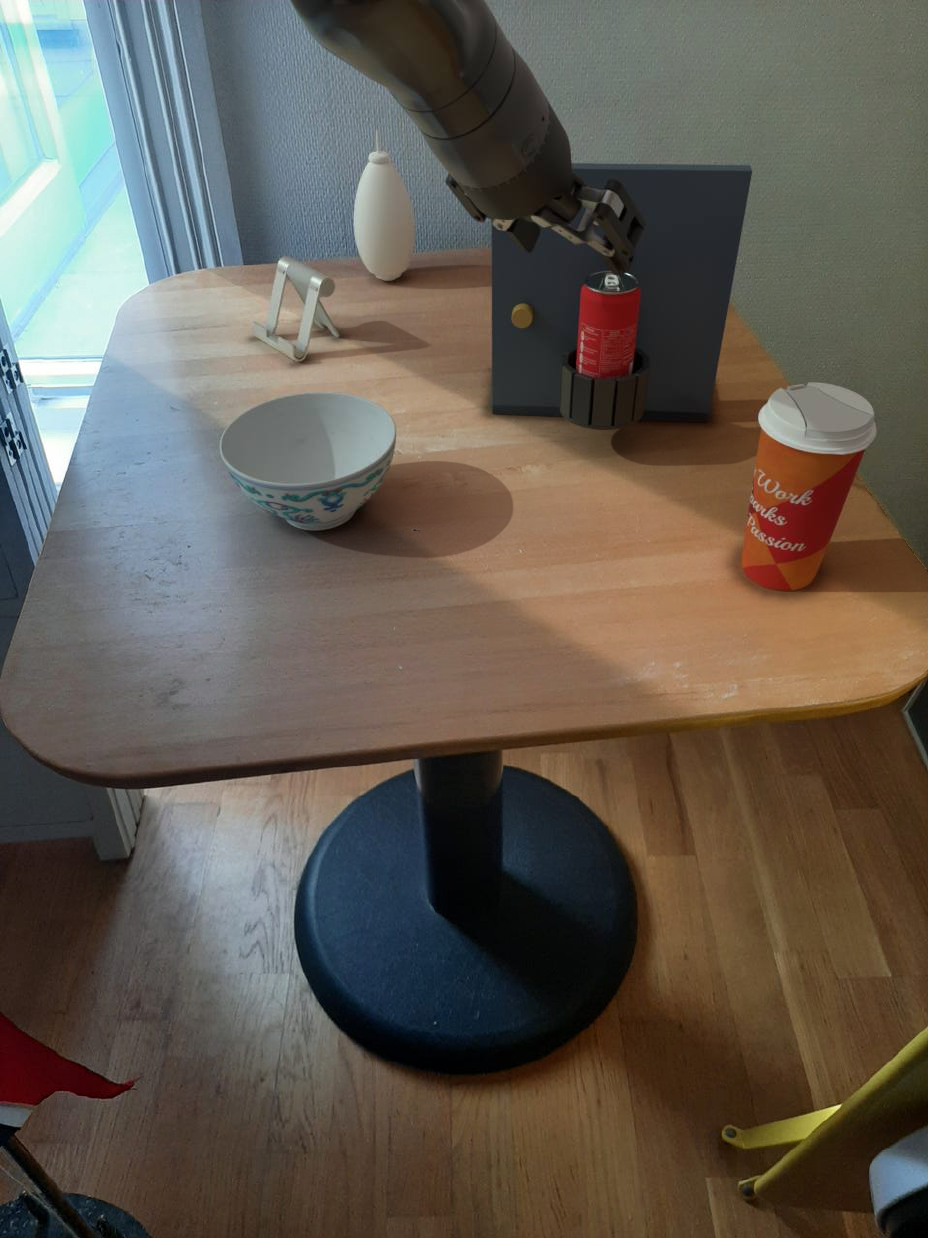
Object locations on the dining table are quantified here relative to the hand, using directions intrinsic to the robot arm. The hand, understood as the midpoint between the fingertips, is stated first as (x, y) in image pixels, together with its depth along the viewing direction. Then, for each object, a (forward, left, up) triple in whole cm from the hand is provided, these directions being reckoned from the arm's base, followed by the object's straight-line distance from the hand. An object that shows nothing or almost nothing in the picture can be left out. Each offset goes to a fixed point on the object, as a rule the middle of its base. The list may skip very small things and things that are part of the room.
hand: (577, 252), depth 73 cm
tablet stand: (+32, -26, -21) cm, 46 cm away
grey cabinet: (-3, -11, -21) cm, 24 cm away
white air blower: (+25, -45, -21) cm, 55 cm away
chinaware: (+22, +7, -21) cm, 31 cm away
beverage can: (-3, -5, -17) cm, 18 cm away
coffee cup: (-18, +12, -21) cm, 31 cm away
